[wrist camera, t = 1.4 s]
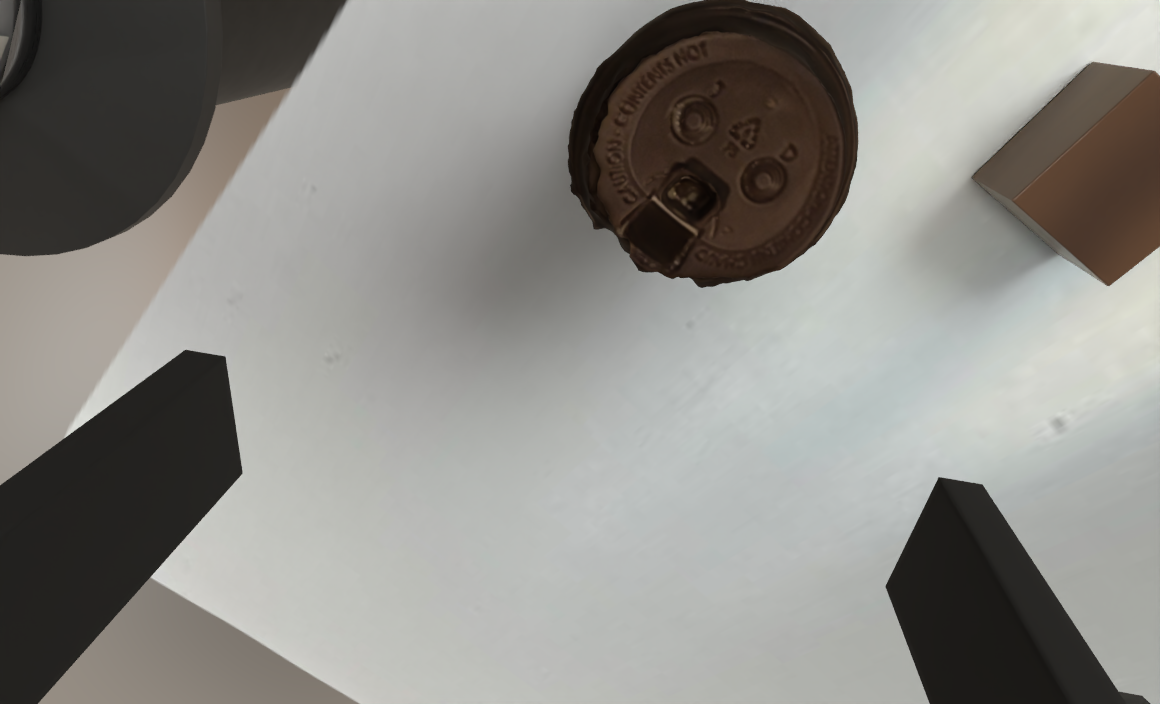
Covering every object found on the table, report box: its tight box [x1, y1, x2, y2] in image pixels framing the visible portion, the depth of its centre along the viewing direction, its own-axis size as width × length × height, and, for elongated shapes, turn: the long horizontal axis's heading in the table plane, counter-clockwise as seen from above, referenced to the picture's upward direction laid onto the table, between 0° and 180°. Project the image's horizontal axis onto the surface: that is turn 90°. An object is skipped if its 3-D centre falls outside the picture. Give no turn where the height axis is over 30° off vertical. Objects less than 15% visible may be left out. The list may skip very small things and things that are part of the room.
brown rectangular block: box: [972, 62, 1160, 286], centre depth 28 cm, size 6×6×4 cm
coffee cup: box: [568, 0, 858, 288], centre depth 24 cm, size 9×8×13 cm
